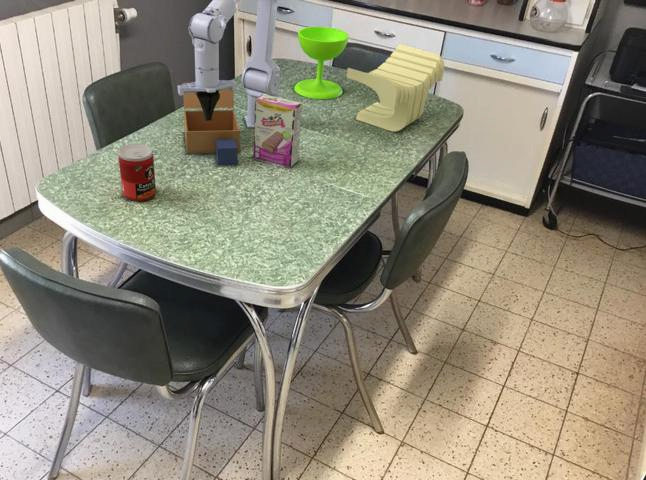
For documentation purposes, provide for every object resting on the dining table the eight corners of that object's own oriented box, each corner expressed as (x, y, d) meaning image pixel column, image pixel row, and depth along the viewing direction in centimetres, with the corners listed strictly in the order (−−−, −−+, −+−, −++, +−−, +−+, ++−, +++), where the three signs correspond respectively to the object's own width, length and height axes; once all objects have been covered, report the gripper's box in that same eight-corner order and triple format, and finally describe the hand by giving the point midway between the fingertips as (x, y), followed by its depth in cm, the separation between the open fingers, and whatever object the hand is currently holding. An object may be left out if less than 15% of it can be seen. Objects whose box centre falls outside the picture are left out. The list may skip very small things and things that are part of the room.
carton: (184, 132, 179) (183, 110, 175) (233, 131, 181) (234, 109, 178) (187, 154, 168) (186, 131, 164) (239, 153, 171) (239, 130, 167)
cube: (235, 157, 169) (235, 139, 166) (237, 165, 165) (237, 148, 162) (216, 157, 168) (215, 139, 165) (217, 166, 164) (217, 148, 161)
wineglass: (348, 98, 206) (355, 41, 195) (300, 100, 203) (304, 42, 192) (335, 80, 218) (340, 26, 208) (289, 81, 215) (292, 26, 204)
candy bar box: (252, 158, 168) (253, 99, 159) (260, 151, 172) (262, 92, 162) (290, 169, 165) (295, 108, 155) (298, 161, 169) (303, 101, 159)
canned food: (140, 205, 147) (137, 162, 140) (115, 194, 150) (110, 151, 143) (163, 192, 152) (160, 149, 145) (137, 182, 155) (133, 140, 149)
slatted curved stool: (388, 144, 180) (398, 82, 169) (340, 127, 187) (347, 67, 177) (434, 113, 200) (446, 56, 189) (390, 99, 207) (399, 43, 196)
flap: (184, 108, 175) (183, 108, 175) (233, 107, 177) (233, 107, 177) (182, 82, 174) (182, 83, 174) (232, 82, 176) (232, 82, 177)
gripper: (182, 74, 150) (184, 128, 158) (240, 69, 155) (239, 122, 163) (174, 64, 155) (177, 117, 163) (231, 59, 160) (231, 111, 168)
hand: (207, 119), depth 163 cm, fingers closed
